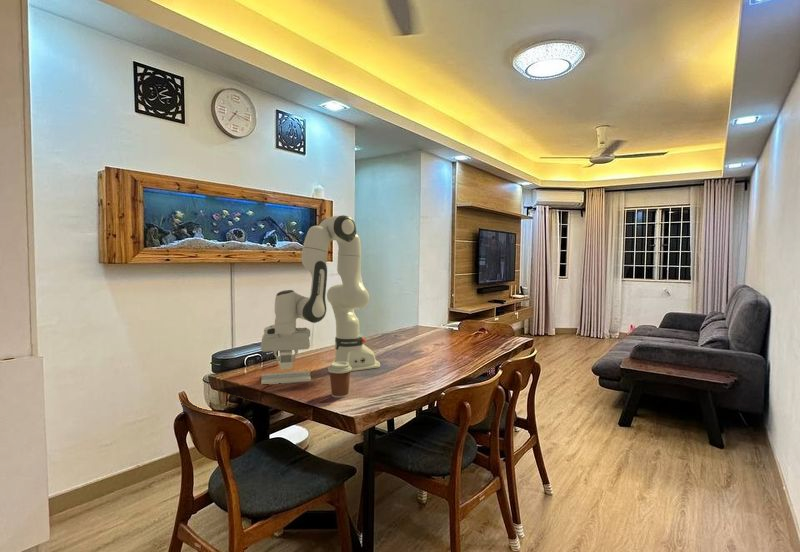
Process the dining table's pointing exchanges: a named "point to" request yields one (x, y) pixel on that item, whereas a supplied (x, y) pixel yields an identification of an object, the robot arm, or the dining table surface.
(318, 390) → the dining table surface
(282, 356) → the block
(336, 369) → the coffee cup
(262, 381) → the rail plate
